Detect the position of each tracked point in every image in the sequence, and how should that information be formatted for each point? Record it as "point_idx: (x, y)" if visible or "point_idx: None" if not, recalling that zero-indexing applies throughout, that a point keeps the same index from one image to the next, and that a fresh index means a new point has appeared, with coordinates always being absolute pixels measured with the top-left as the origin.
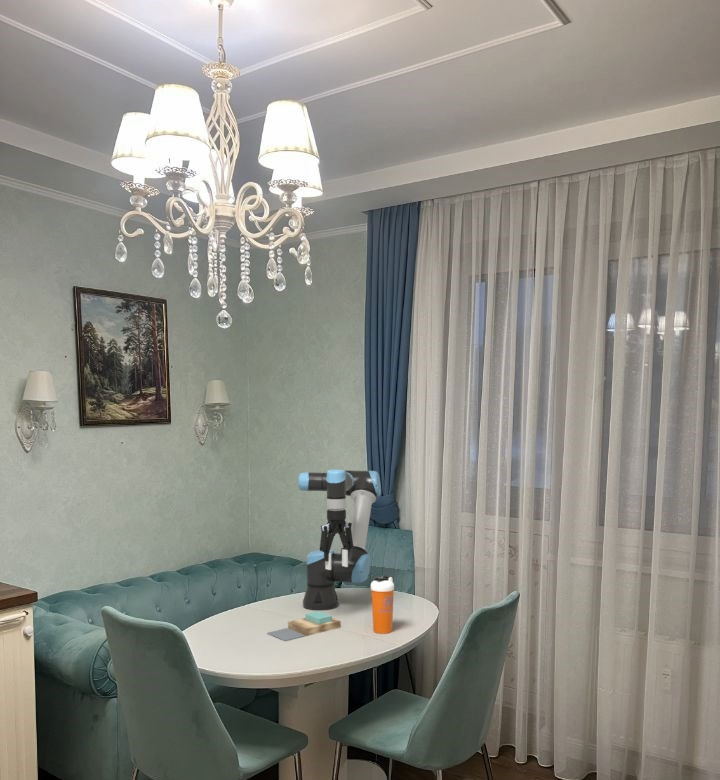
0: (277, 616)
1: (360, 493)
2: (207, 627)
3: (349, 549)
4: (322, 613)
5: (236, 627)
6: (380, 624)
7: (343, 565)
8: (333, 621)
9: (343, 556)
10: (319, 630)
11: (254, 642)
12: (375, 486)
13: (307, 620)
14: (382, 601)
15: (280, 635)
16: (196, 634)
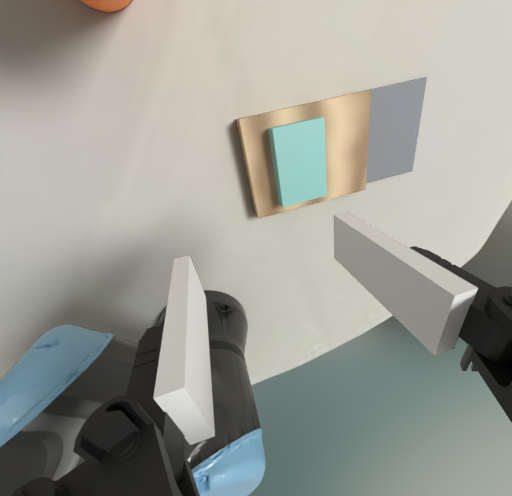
0: (322, 280)
1: None
2: (448, 260)
3: (116, 412)
4: (283, 176)
5: (419, 241)
6: None
7: (201, 287)
8: (264, 123)
9: (203, 344)
10: (317, 101)
11: (469, 117)
12: None
13: None
14: None
15: (406, 131)
16: (486, 229)
